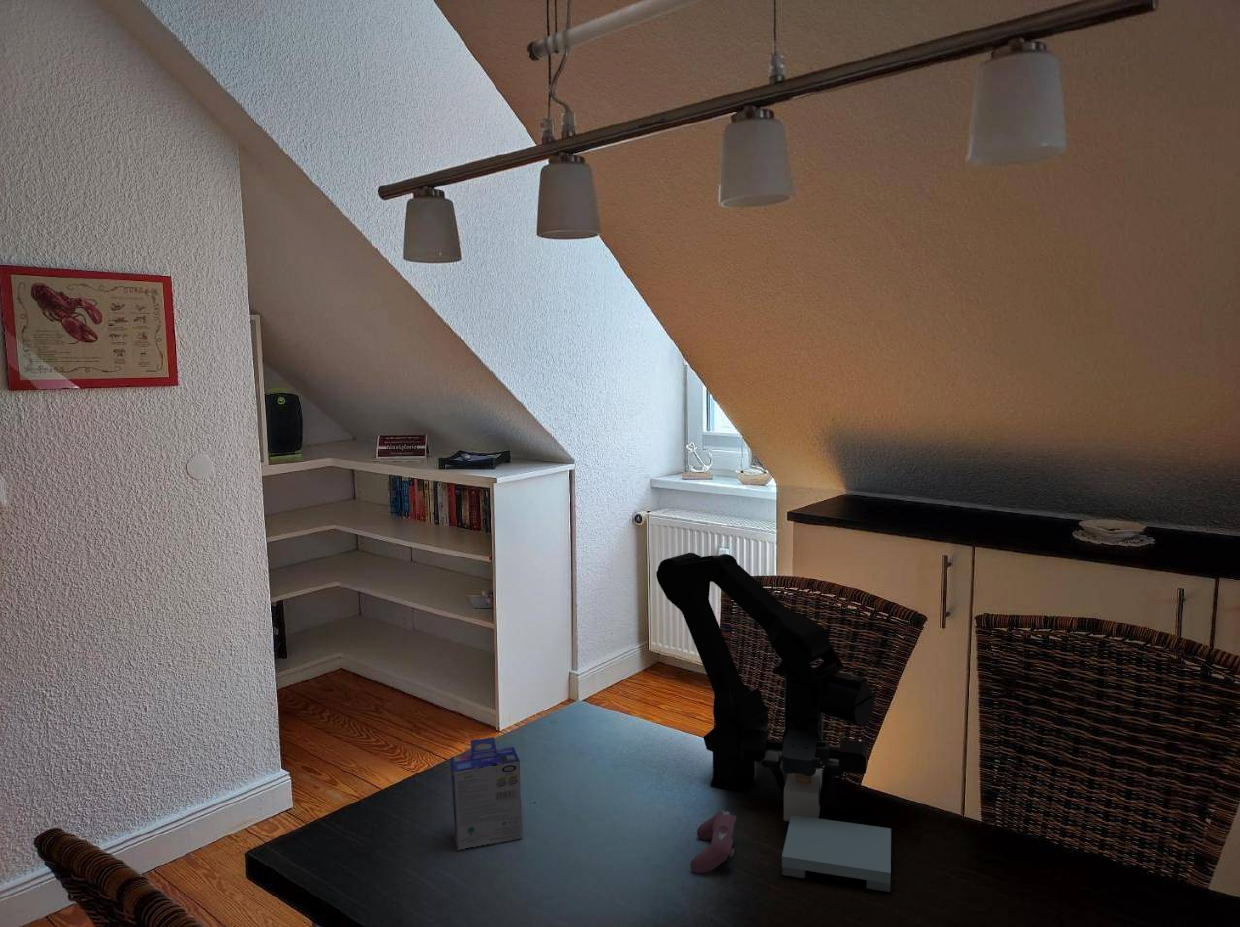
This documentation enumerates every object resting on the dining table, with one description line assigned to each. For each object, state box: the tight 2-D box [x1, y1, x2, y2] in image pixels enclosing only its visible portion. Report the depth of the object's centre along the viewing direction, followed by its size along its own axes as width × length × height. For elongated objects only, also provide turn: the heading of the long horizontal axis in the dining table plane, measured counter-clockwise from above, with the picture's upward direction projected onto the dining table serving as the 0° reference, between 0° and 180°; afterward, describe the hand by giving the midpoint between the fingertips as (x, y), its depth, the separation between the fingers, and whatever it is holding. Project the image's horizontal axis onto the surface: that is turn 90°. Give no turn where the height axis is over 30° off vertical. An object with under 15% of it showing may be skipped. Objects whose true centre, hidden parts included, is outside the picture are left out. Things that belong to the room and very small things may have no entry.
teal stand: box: [781, 815, 892, 893], centre depth 120 cm, size 14×11×3 cm
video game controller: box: [689, 809, 737, 874], centre depth 122 cm, size 10×5×7 cm, turn 169°
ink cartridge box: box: [449, 736, 524, 851], centre depth 128 cm, size 10×6×14 cm, turn 108°
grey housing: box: [783, 768, 823, 822], centre depth 134 cm, size 5×8×6 cm, turn 163°
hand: (803, 802), depth 134 cm, fingers closed on grey housing, 5 cm apart
